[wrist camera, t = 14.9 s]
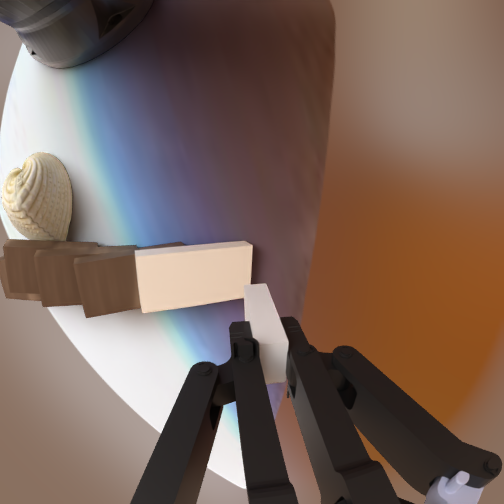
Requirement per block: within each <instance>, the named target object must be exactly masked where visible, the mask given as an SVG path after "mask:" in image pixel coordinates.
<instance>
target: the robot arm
mask: <svg viewBox="0 0 504 504" xmlns="http://www.w3.org/2000/svg"><path fill="white" fill-rule="evenodd" d="M153 1H154V0H0V21H1V22H3V23H5V24H7V25H9V26H11V27H13V28H14V29H15V30H16V32H17V34H18V35H19V37H20V39H21V40H22V42H23V43H24V44H25V45H26V48H27V50H28V52H29V53H30V55H31V56H32V57H33V58H34V59H35V60H37V61H39V62H41V63H43V64H45V65H47V66H50V67H54V68H67V67H72V66H76V65H79V64H82V63H85V62H87V61H89V60H91V59H93V58H95V57H97V56H99V55H101V54H103V53H104V52H106V51H107V50H109V49H110V48H112V47H113V46H115V45H116V44H117V43H119V42H120V41H121V40H122V39H123V38H125V37H126V36H127V35H128V34H129V33H130V32H131V31H132V30H133V29H134V28H135V27H136V26H137V25H138V24H139V23H140V21H141V20H142V19H143V18H144V16H145V15H146V14H147V12H148V10H149V9H150V7H151V5H152V3H153ZM244 306H245V321H241V322H232V324H231V325H230V327H229V331H230V344H231V358H230V359H229V360H228V361H227V362H226V363H224V364H222V365H219V366H217V365H215V364H214V363H211V362H199V363H196V364H195V365H193V366H192V368H191V369H190V371H189V373H188V376H187V378H186V380H185V382H184V384H183V387H182V389H181V391H180V393H179V395H178V398H177V400H176V402H175V404H174V406H173V409H172V411H171V413H170V415H169V417H168V420H167V422H166V424H165V426H164V429H163V431H162V433H161V435H160V437H159V440H158V442H157V444H156V446H155V449H154V451H153V453H152V456H151V458H150V460H149V462H148V464H147V467H146V469H145V471H144V474H143V476H142V478H141V480H140V483H139V485H138V487H137V489H136V492H135V494H134V496H133V499H132V501H131V503H130V504H196V502H197V499H198V495H199V492H200V488H201V485H202V481H203V478H204V475H205V471H206V468H207V464H208V461H209V457H210V453H211V450H212V446H213V443H214V439H215V436H216V432H217V428H218V425H219V421H220V418H221V414H222V410H223V405H225V404H228V403H231V402H234V401H236V407H237V416H238V425H239V433H240V442H241V450H242V458H243V465H244V473H245V480H246V487H247V494H248V501H249V504H298V500H297V497H296V493H295V490H294V487H293V485H292V484H291V483H290V481H289V478H288V474H287V470H286V466H285V462H284V458H283V454H282V450H281V446H280V442H279V438H278V434H277V429H276V425H275V421H274V417H273V413H272V408H271V404H270V400H269V396H268V391H267V387H266V384H271V383H279V382H286V376H287V379H288V388H287V398H289V394H290V397H291V401H292V404H293V407H294V410H295V413H296V417H297V420H298V423H299V426H300V429H301V433H302V436H303V439H304V442H305V446H306V449H307V452H308V455H309V458H310V462H311V465H312V468H313V471H314V474H315V477H316V480H317V484H318V487H319V490H320V494H321V504H414V503H411V502H409V501H406V500H404V499H401V498H399V497H397V495H396V493H395V491H394V489H393V487H392V484H391V483H390V480H389V478H388V476H387V474H386V472H385V470H384V469H383V467H382V465H381V464H380V463H379V462H378V461H373V460H371V459H370V457H369V455H368V453H367V451H366V449H365V447H364V445H363V442H362V440H361V438H360V437H359V434H358V432H357V430H356V428H355V426H356V427H357V428H358V429H359V430H360V432H361V433H362V434H363V435H364V436H365V437H366V438H367V440H368V441H369V442H370V443H371V444H372V445H373V446H374V447H375V448H376V450H377V451H378V452H379V453H380V454H381V455H382V456H383V457H384V458H385V459H386V460H387V462H388V463H389V464H390V465H391V466H392V467H393V468H394V469H395V470H396V471H397V472H398V473H399V474H400V475H401V477H402V478H403V479H404V480H405V481H406V482H407V483H408V484H409V485H410V486H412V487H413V488H414V489H415V490H417V491H418V492H420V493H421V494H423V495H425V496H426V500H425V504H477V502H478V500H479V498H480V495H481V493H482V490H483V488H484V487H485V486H486V485H487V484H488V483H489V482H491V481H492V480H493V479H494V478H495V477H497V476H498V475H499V473H500V471H501V469H502V461H501V459H500V457H499V456H498V455H496V454H494V453H492V452H489V451H486V450H483V449H480V448H478V447H475V446H472V445H469V444H467V443H464V442H462V441H461V440H459V439H458V438H457V437H456V436H455V435H453V434H452V433H451V432H450V431H449V430H448V429H447V428H446V427H444V426H443V425H442V424H441V423H440V422H439V421H437V420H436V419H435V418H434V417H433V416H432V415H431V414H429V413H428V412H427V411H426V410H425V409H424V408H422V407H421V406H420V405H419V404H418V403H417V402H415V401H414V400H413V399H412V398H411V397H410V396H409V395H407V394H406V393H405V392H404V391H403V390H401V388H400V387H398V386H397V385H396V384H395V383H394V382H393V381H391V380H390V379H389V378H388V377H387V376H386V375H384V374H383V373H382V372H381V371H380V370H379V369H378V368H377V367H375V366H374V365H373V364H372V363H371V362H370V361H369V360H367V359H366V358H365V357H364V356H363V355H362V354H361V353H359V352H358V351H357V350H356V349H354V348H353V347H350V346H338V347H337V348H335V349H334V350H333V353H322V352H318V351H317V349H316V348H315V347H314V346H312V345H310V344H309V343H308V341H307V339H306V337H305V335H304V333H303V331H302V329H301V327H300V325H299V323H298V321H297V320H296V319H295V318H293V317H292V316H291V317H281V318H279V316H278V313H277V310H276V308H275V305H274V303H273V300H272V298H271V295H270V292H269V290H268V287H267V285H266V283H265V284H251V285H244ZM354 425H355V426H354Z"/></svg>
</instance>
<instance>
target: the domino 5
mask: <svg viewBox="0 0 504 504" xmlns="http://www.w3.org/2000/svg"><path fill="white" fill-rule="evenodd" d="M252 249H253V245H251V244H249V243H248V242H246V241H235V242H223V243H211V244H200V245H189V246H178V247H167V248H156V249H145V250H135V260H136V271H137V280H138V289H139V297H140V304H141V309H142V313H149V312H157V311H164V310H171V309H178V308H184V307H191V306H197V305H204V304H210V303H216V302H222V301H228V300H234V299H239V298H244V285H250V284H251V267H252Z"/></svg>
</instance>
